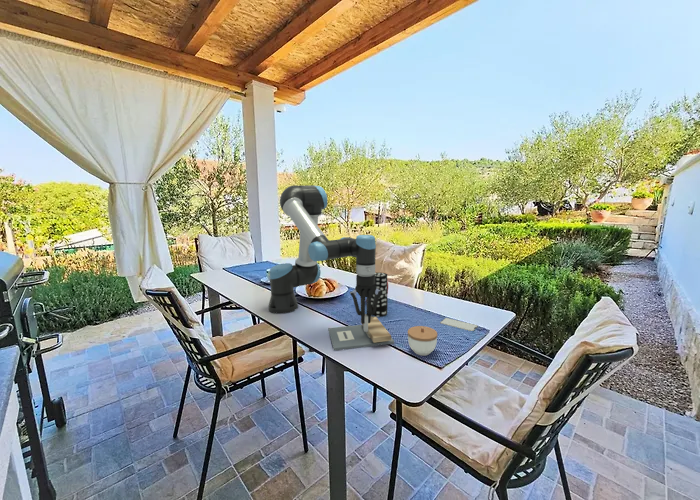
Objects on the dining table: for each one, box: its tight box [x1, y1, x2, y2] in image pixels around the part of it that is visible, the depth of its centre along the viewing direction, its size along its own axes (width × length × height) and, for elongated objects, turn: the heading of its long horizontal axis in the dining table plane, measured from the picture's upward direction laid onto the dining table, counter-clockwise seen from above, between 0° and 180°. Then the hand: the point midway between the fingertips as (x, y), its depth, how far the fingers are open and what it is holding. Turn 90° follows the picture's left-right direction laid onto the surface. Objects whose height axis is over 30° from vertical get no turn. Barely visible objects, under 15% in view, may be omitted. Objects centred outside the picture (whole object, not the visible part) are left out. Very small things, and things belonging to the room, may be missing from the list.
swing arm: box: [360, 315, 392, 343], centre depth 123 cm, size 22×7×3 cm, turn 13°
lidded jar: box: [407, 325, 438, 357], centre depth 109 cm, size 11×11×9 cm
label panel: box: [328, 324, 395, 351], centre depth 123 cm, size 18×24×2 cm
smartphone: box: [439, 317, 479, 332], centre depth 132 cm, size 7×1×15 cm
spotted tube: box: [371, 272, 388, 318], centre depth 145 cm, size 8×8×20 cm
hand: (365, 330), depth 120 cm, fingers closed
